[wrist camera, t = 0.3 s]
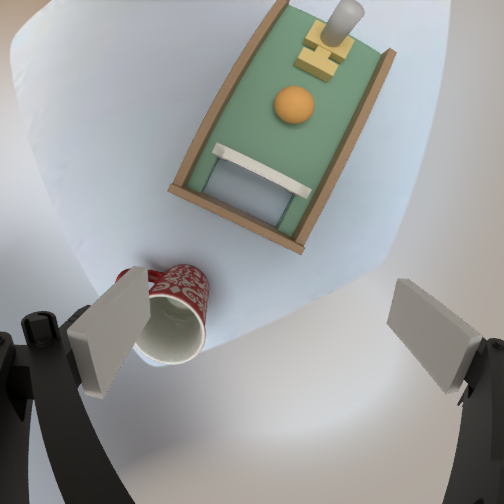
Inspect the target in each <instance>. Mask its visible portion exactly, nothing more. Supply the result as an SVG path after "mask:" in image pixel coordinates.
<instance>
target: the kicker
mask: <svg viewBox="0 0 504 504" xmlns="http://www.w3.org/2000/svg"><path fill="white" fill-rule="evenodd" d="M364 13H365V12H364V8H363V7H362V6H361V4H359V3H358V2H357V1H355V0H341V1H340V2H339V4H338V5H337V7H336V9H335V10H334V12H333V14H332V15H331V17H330V19H329V20H328V22H327V24H324V23H322V22H320V21H318V20H316V21H315V23H314V24H313V26H312V28H311V29H310V31H309V32H308V34H307V36H306V37H305V39H304V41H303V44H304V45H306V46H308V47H310V48H312V49H314V50H315V52H313V51H311V50H309V49H307V48H305V47H304V48H303V49H302V51H301V53H300V55H299V56H298V58H297V60H296V62H295V64H294V66H296V67H298V68H300V69H302V70H304V71H306V72H308V73H310V74H311V75H313V76H315V77H317V78H319V79H321V80H323V81H325V82H326V83H327V82H328V81H329V80H330V79H331V78H332V77H333V75H334V73H335V71H336V69H337V67H338V64H336V63H334V62H332V61H330V60H329V59H328V58H331V59H333V60H335V61H336V62H338V63H340V64H341V63H342V62H343V61H344V60H345V58H346V56H347V54H348V53H349V51H350V49H351V47H352V45H353V43H354V41H355V40H354V39H352V38H350V37H349V36H347V35H348V34H349V33H350V32H351V30H352V29H353V28H354V27H355V25H356V24H357V23H358V22H359V21H360V19H361V18H362V17H363V16H364Z"/></svg>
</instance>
